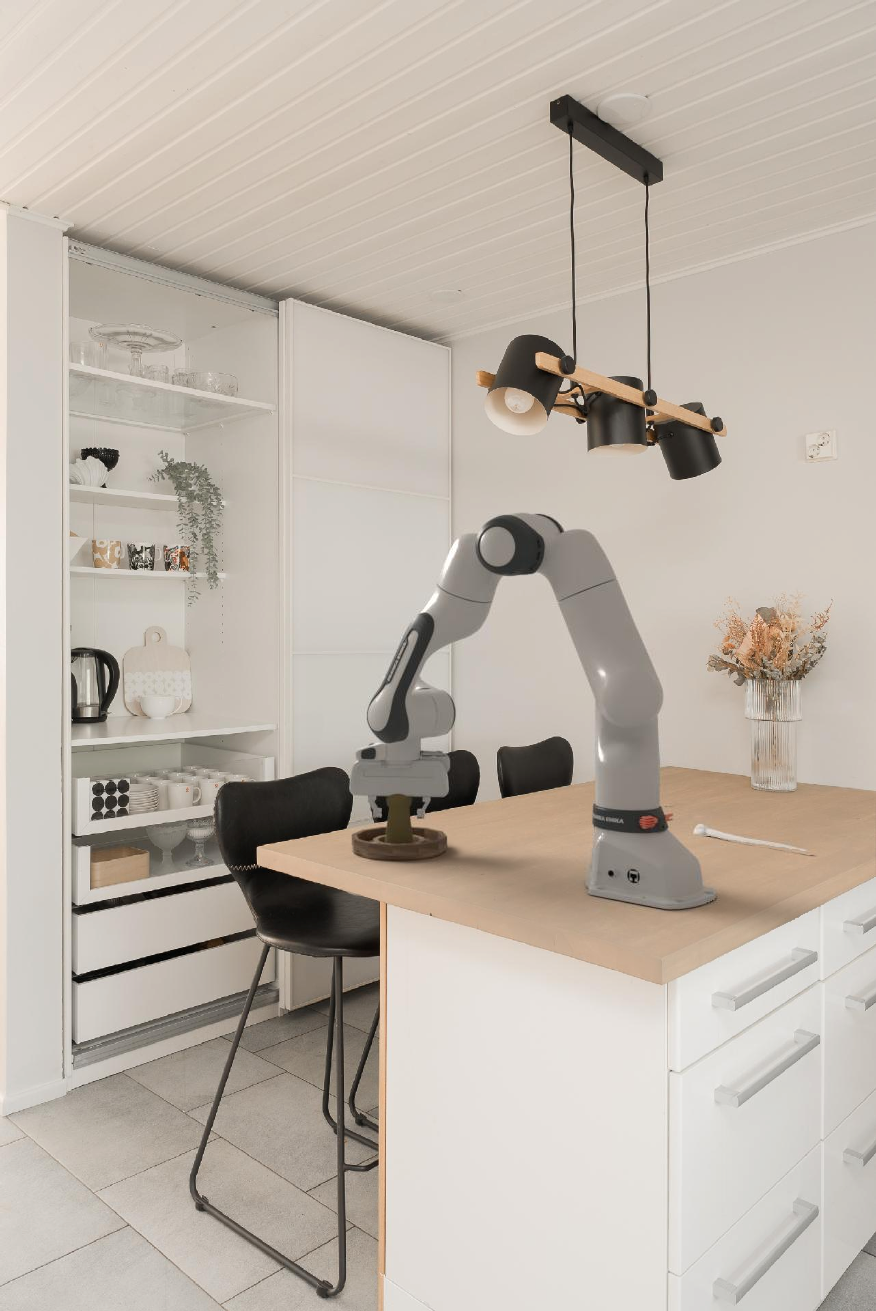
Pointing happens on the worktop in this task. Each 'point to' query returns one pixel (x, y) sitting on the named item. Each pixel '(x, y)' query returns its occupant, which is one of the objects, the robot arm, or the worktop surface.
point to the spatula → (735, 837)
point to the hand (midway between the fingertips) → (399, 817)
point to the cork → (399, 820)
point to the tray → (399, 845)
